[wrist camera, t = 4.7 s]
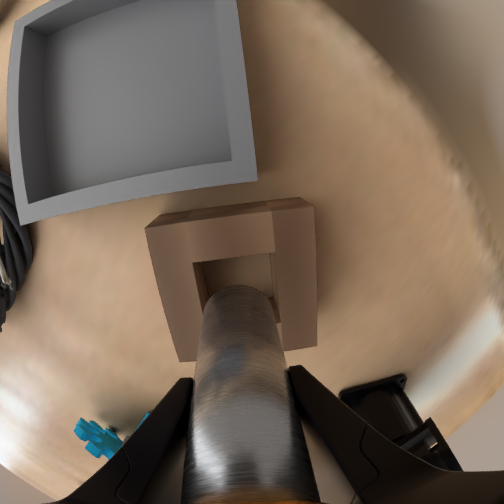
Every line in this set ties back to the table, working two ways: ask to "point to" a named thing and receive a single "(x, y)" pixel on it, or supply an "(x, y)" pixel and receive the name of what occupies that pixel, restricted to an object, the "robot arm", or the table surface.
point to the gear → (100, 438)
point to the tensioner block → (229, 246)
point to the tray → (125, 103)
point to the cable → (11, 248)
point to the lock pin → (244, 411)
